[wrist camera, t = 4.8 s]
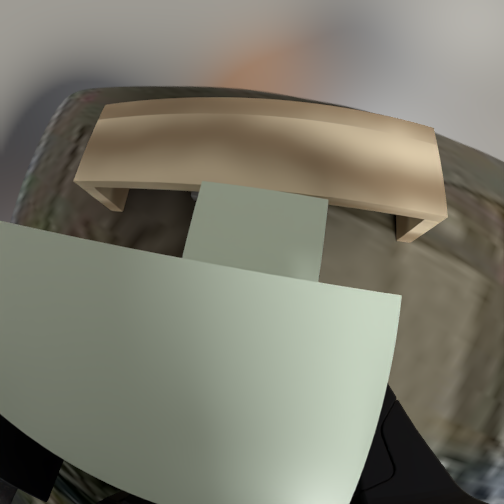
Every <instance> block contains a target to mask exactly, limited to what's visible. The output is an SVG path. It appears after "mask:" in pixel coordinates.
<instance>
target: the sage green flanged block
mask: <svg viewBox="0 0 504 504" xmlns="http://www.w3.org/2000/svg"><path fill="white" fill-rule="evenodd" d="M327 210H328V199H322V198H316V197H311V196H305V195H299V194H293V193H287V192H280V191H274V190H267V189H260V188H253V187H246V186H239V185H231V184H223V183H215V182H207V181H202V183H201V187H200V191H199V194H198V198H197V201H196V205H195V209H194V213H193V216H192V220H191V224H190V228H189V232H188V236H187V240H186V244H185V248H184V252H183V256H182V258H178V257H173V256H168V255H162V254H157V253H152V252H147V251H142V250H137V249H131V248H126V247H121V246H116V245H111V244H106V243H101V242H97V241H92V240H87V239H82V238H77V237H72V236H68V235H63V234H58V233H53V232H49V231H44V230H39V229H35V228H30V227H26V226H21V225H17V224H12V223H7V222H3V221H0V414H1V415H2V416H3V417H5V418H6V419H7V420H8V421H9V422H11V423H12V424H13V425H15V426H16V427H17V428H18V429H20V430H21V431H22V432H24V433H25V434H26V435H28V436H29V437H30V438H32V439H33V440H35V441H36V442H38V443H39V444H40V445H42V446H43V447H45V448H46V449H48V450H49V451H51V452H52V453H54V454H56V455H57V456H59V457H60V458H62V459H64V460H65V461H67V462H69V463H70V464H72V465H74V466H76V467H77V468H79V469H81V470H83V471H85V472H87V473H88V474H90V475H92V476H94V477H96V478H98V479H100V480H102V481H104V482H106V483H108V484H110V485H113V486H115V487H117V488H119V489H121V490H124V491H126V492H128V493H131V494H133V495H136V496H138V497H141V498H143V499H146V500H148V501H151V502H154V503H157V504H349V503H350V501H351V498H352V496H353V494H354V491H355V489H356V486H357V483H358V481H359V478H360V476H361V473H362V470H363V467H364V464H365V462H366V459H367V456H368V453H369V450H370V446H371V443H372V440H373V437H374V433H375V430H376V427H377V423H378V419H379V416H380V412H381V408H382V404H383V400H384V396H385V392H386V387H387V383H388V378H389V374H390V369H391V364H392V358H393V353H394V347H395V341H396V335H397V328H398V321H399V314H400V306H401V297H402V296H401V295H395V294H388V293H382V292H375V291H369V290H362V289H356V288H350V287H344V286H337V285H331V284H325V283H319V282H318V279H319V272H320V265H321V258H322V251H323V243H324V235H325V227H326V219H327Z"/></svg>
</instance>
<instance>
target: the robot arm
mask: <svg viewBox="0 0 504 504" xmlns="http://www.w3.org/2000/svg"><path fill="white" fill-rule="evenodd" d="M395 400H396V396H395V394H394V393H393V391H392V389H391V388H390V386H389V385H388V383H387V387H386V392H385V396H384V400H383V404H382V408H381V412H380V416H379V419H378V423H377V427H376V430H375V433H374V437H373V440H372V443H371V446H370V450H369V453H368V456H367V459H366V462H365V464H364V467H363V470H362V473H361V476H360V478H359V481H358V483H357V486H356V489H355V491H354V494H353V496H352V498H351V501H350V503H349V504H488V503H486V502H483V501H481V500H478V499H476V498H474V497H472V496H470V495H469V494H467V493H466V492H465V491H463V490H462V489H461V488H460V487H459V486H458V485H457V483H456V482H455V481H454V480H453V478H452V477H451V476H450V474H449V473H448V472H447V470H446V469H445V468H444V466H443V465H442V464H441V462H440V461H439V459H438V458H437V457H436V455H435V454H434V453H433V451H432V450H431V449H430V447H429V446H428V445H427V443H426V442H425V440H424V439H423V438H422V436H421V435H420V433H419V432H418V431H417V429H416V428H415V426H414V425H413V423H412V421H411V420H410V418H409V417H408V415H407V414H406V412H405V410H404V409H403V407H402V406H401V404H400V402H399V401H398V400H396V401H395ZM63 461H64V459H62V458H60V457H59V456H57V455H56V454H54V453H52V452H51V451H49V450H48V449H46V448H45V447H43V446H42V445H40V444H39V443H38V442H36V441H35V440H33V439H32V438H30V437H29V436H28V435H26V434H25V433H24V432H22V431H21V430H20V429H18V428H17V427H16V426H15V425H13V424H12V423H11V422H9V421H8V420H7V419H6V418H5V417H3V416H2V415H1V414H0V504H11V502H12V500H13V497H14V495H15V493H16V491H17V489H20V490H22V491H24V492H26V493H28V494H30V495H32V496H34V497H36V498H38V499H40V500H42V501H44V502H47V501H48V499H49V496H50V494H51V491H52V488H53V486H54V483H55V480H56V478H57V475H58V473H59V470H60V468H61V465H62V463H63ZM97 504H157V503H154V502H151V501H148V500H146V499H143V498H141V497H138V496H136V495H133V494H131V493H128V492H126V491H122V492H119V493H117V494H114V495H111V496H109V497H107V498H105V499H103V500H101V501H99V502H98V503H97Z"/></svg>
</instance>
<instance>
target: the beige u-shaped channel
mask: <svg viewBox="0 0 504 504" xmlns="http://www.w3.org/2000/svg"><path fill="white" fill-rule="evenodd" d="M202 181H207V182H215V183H223V184H231V185H239V186H246V187H253V188H260V189H267V190H274V191H280V192H287V193H293V194H299V195H305V196H311V197H316V198H322V199H328V205H336V206H343V207H350V208H357V209H364V210H371V211H377V212H384V213H390V214H396V241H401V242H408V243H410V242H412V241H413V240H415V239H416V238H418V237H419V236H421V235H422V234H424V233H425V232H427V231H428V230H430V229H431V228H433V227H434V226H435V225H437V224H438V223H440V222H441V221H443V220H444V219H445V218H447V217H448V215H447V205H446V196H445V188H444V181H443V175H442V168H441V163H440V157H439V152H438V147H437V142H436V137H435V133H434V128H432V127H428V126H425V125H421V124H417V123H414V122H410V121H405V120H402V119H398V118H393V117H389V116H384V115H380V114H375V113H370V112H365V111H360V110H354V109H348V108H342V107H336V106H329V105H322V104H314V103H306V102H297V101H286V100H274V99H259V98H234V97H194V98H169V99H154V100H142V101H132V102H123V103H115V104H108V105H105V107H104V109H103V111H102V113H101V115H100V117H99V119H98V121H97V124H96V126H95V128H94V130H93V133H92V135H91V137H90V140H89V142H88V144H87V147H86V149H85V152H84V154H83V157H82V159H81V162H80V165H79V167H78V170H77V173H76V175H75V178H74V182H75V183H76V184H78V185H79V186H80V187H81V188H83V189H84V190H85V191H87V192H88V193H89V194H90V195H92V196H93V197H94V198H95V199H97V200H98V201H99V202H101V203H102V204H103V205H104V206H106V207H107V208H108V209H110V210H111V211H121V212H123V210H124V206H125V203H126V199H127V196H128V192H129V189H130V188H140V189H162V190H180V191H192V192H191V197H192V198H193V200H194V201H197V198H198V194H199V191H200V187H201V183H202Z"/></svg>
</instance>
